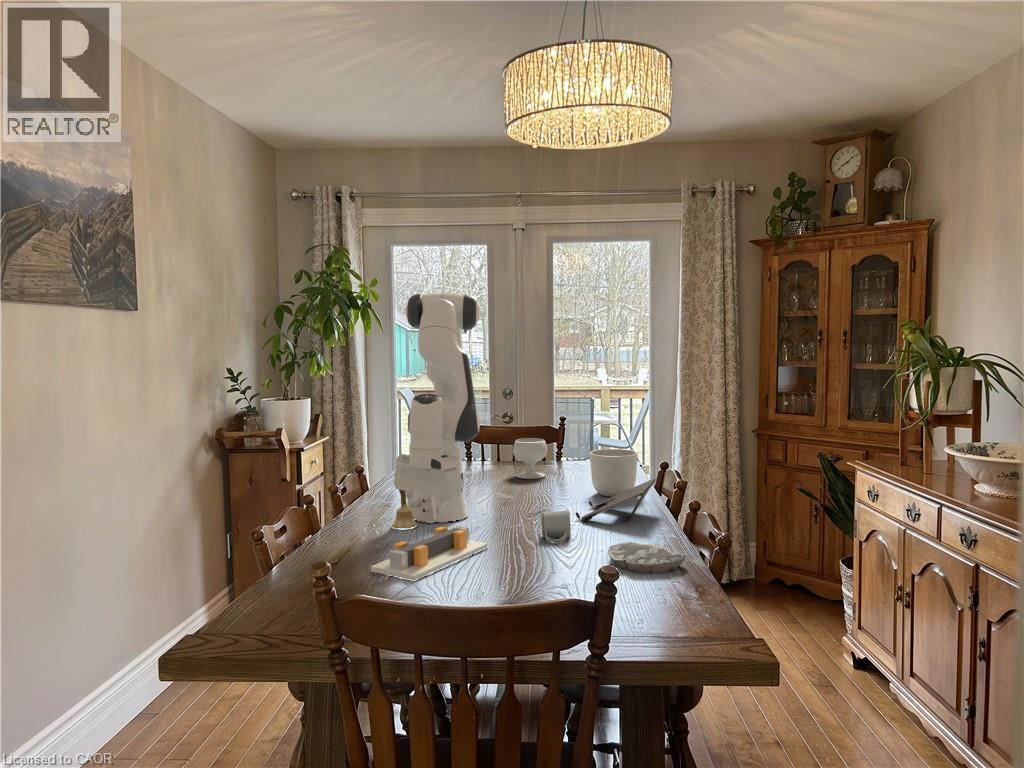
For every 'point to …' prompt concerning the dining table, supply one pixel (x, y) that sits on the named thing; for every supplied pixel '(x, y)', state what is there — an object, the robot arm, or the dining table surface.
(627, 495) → the portable electronic device stand
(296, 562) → the dining table surface
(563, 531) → the ceramic mug
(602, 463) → the planter
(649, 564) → the brain slice
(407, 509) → the hand bell
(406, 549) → the bar
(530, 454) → the chalice
